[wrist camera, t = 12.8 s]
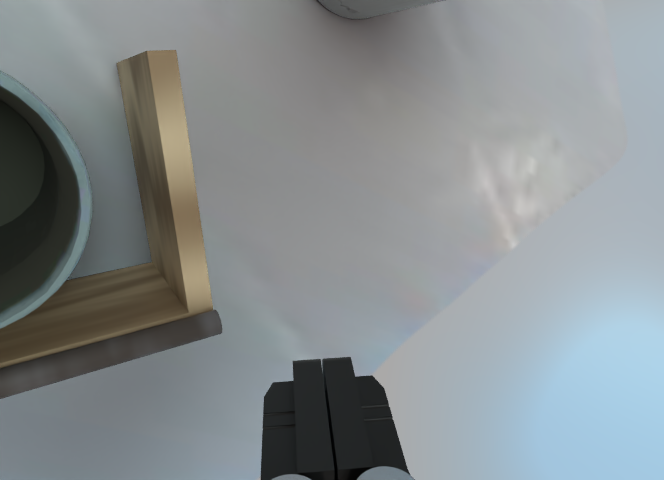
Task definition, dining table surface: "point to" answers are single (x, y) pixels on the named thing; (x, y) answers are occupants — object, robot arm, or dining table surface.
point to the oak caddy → (136, 281)
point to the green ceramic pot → (37, 202)
